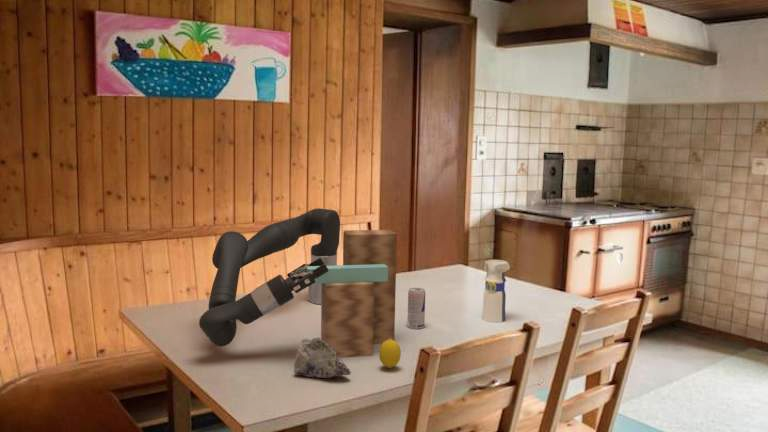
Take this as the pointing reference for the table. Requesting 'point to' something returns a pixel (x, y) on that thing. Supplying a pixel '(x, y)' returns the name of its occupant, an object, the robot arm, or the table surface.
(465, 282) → the table surface
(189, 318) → the table surface
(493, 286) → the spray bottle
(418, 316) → the energy drink
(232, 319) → the robot arm
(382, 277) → the teal bar
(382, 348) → the lemon
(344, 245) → the tall stand
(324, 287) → the low stand
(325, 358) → the mineral rock
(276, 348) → the table surface
